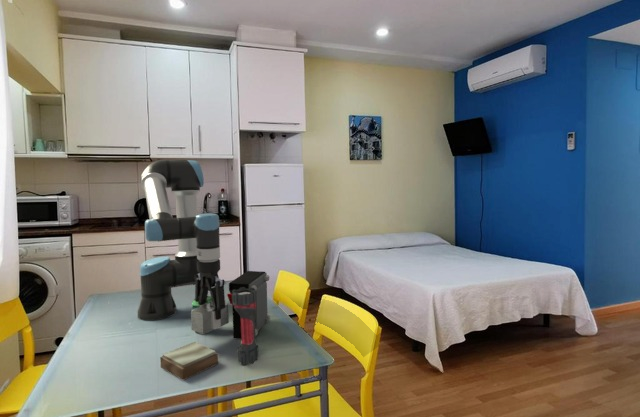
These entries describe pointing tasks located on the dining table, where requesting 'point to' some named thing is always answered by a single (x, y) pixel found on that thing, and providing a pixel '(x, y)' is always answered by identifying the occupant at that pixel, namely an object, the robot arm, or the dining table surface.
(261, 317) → the electrical component
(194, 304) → the cup
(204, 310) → the housing
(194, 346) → the stand
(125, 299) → the dining table surface
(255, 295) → the flashlight
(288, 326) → the dining table surface
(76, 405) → the dining table surface
